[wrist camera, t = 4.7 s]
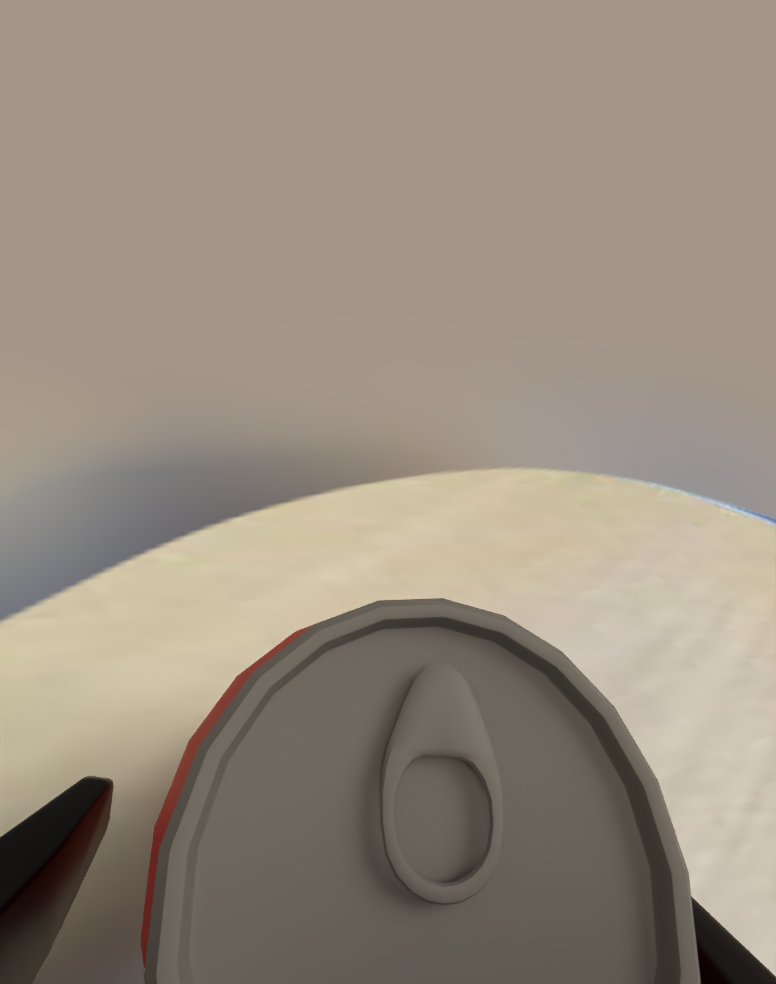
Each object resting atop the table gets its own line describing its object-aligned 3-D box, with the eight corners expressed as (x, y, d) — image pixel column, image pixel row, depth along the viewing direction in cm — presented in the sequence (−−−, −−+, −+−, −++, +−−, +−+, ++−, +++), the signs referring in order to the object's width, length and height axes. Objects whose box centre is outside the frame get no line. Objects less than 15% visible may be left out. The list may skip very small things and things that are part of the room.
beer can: (436, 703, 17) (660, 588, 7) (435, 952, 13) (892, 1461, 3) (249, 686, 16) (196, 527, 6) (197, 947, 13) (-141, 1617, 3)
